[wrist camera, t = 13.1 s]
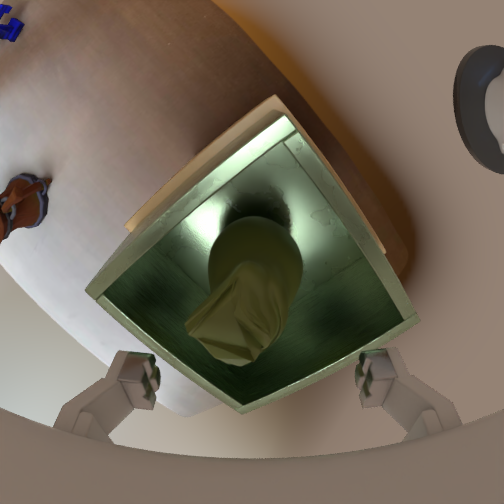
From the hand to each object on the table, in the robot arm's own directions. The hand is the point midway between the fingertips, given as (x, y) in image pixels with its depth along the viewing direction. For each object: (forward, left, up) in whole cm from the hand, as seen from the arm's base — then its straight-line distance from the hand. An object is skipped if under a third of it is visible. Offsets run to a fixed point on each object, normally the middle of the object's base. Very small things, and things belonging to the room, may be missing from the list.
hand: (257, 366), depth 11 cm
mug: (+42, +2, -40) cm, 58 cm away
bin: (0, 0, -40) cm, 40 cm away
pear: (0, 0, -11) cm, 11 cm away
